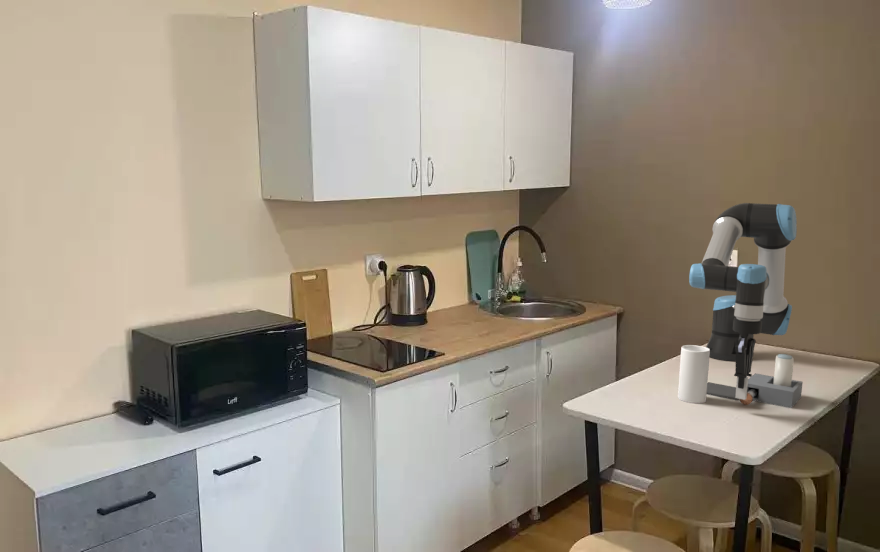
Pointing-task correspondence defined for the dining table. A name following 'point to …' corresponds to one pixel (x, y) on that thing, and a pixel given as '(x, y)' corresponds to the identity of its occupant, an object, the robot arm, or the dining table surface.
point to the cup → (693, 373)
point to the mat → (721, 390)
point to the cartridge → (783, 370)
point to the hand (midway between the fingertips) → (740, 398)
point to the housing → (774, 391)
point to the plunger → (749, 396)
